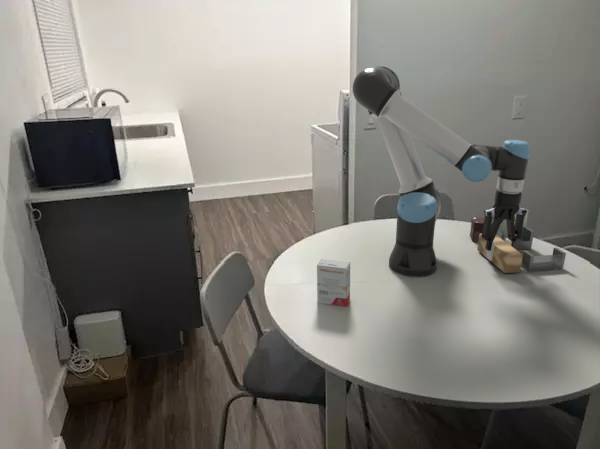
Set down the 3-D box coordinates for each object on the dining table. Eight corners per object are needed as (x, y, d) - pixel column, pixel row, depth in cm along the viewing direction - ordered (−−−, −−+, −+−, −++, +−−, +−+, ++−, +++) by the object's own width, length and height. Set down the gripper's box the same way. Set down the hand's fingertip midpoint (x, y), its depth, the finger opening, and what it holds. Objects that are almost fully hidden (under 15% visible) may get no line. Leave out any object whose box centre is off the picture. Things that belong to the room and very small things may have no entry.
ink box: (350, 299, 133) (351, 261, 128) (346, 307, 128) (347, 268, 124) (321, 294, 135) (321, 257, 131) (316, 302, 131) (316, 264, 127)
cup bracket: (499, 251, 162) (504, 216, 157) (491, 245, 167) (496, 211, 162) (531, 248, 164) (537, 213, 159) (522, 243, 168) (527, 208, 164)
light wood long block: (519, 272, 146) (523, 254, 144) (504, 273, 145) (507, 255, 143) (490, 249, 162) (493, 233, 160) (477, 249, 162) (479, 233, 160)
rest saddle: (528, 272, 147) (531, 256, 145) (519, 265, 151) (522, 250, 149) (563, 268, 148) (566, 253, 146) (553, 262, 152) (556, 247, 151)
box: (489, 242, 170) (491, 223, 167) (471, 241, 171) (473, 222, 168) (486, 236, 175) (488, 218, 173) (469, 235, 176) (471, 217, 174)
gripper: (488, 195, 141) (477, 265, 149) (543, 193, 143) (529, 261, 151) (475, 188, 147) (466, 255, 156) (528, 186, 150) (515, 252, 158)
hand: (497, 258), depth 154 cm, fingers closed on light wood long block, 5 cm apart
